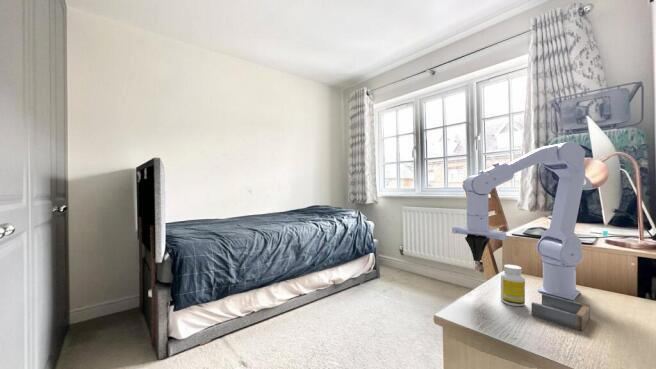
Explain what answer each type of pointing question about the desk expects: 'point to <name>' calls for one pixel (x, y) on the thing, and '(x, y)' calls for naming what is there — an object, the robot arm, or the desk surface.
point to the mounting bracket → (562, 311)
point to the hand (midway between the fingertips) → (477, 260)
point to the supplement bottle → (512, 286)
